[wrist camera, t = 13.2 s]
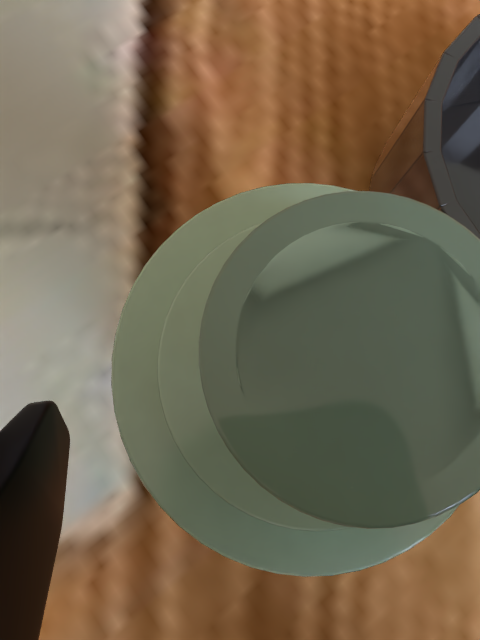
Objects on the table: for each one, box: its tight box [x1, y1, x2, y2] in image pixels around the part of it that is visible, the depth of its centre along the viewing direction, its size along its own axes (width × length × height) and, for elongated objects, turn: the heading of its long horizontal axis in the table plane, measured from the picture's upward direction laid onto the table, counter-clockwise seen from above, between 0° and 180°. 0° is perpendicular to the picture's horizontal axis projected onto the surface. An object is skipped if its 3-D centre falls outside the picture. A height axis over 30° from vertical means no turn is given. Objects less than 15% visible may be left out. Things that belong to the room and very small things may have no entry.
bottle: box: [111, 183, 480, 577], centre depth 10 cm, size 6×6×12 cm
